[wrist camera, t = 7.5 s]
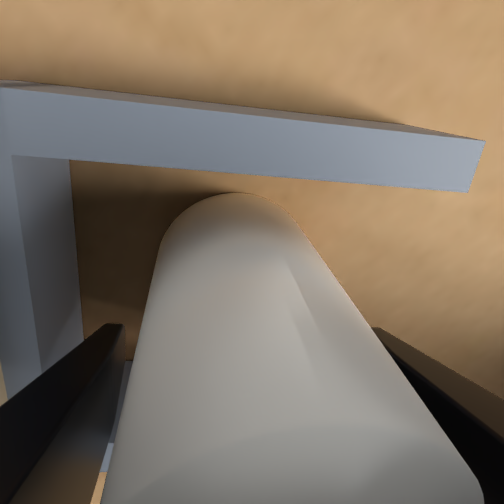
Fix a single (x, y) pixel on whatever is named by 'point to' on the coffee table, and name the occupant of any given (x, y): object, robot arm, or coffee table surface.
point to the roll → (268, 380)
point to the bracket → (169, 156)
